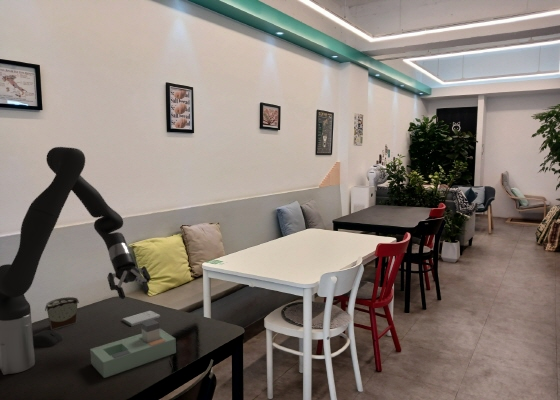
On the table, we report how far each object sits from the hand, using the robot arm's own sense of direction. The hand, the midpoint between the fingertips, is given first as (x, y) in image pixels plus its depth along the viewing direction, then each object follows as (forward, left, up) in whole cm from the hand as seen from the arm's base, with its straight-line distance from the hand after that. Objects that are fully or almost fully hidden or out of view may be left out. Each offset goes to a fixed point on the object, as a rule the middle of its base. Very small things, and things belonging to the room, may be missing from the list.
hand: (135, 295), depth 152 cm
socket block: (-6, -11, -17) cm, 22 cm away
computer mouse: (-25, +23, -18) cm, 39 cm away
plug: (0, -11, -17) cm, 20 cm away
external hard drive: (+10, +20, -18) cm, 29 cm away
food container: (-16, +37, -18) cm, 44 cm away
